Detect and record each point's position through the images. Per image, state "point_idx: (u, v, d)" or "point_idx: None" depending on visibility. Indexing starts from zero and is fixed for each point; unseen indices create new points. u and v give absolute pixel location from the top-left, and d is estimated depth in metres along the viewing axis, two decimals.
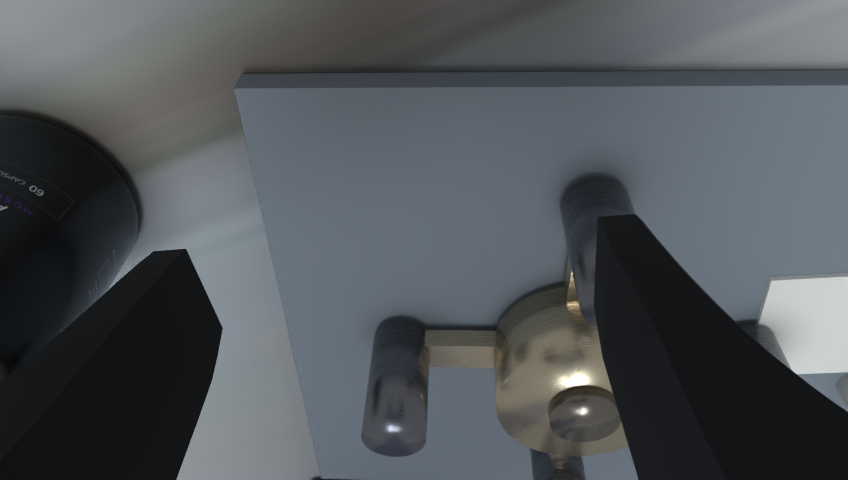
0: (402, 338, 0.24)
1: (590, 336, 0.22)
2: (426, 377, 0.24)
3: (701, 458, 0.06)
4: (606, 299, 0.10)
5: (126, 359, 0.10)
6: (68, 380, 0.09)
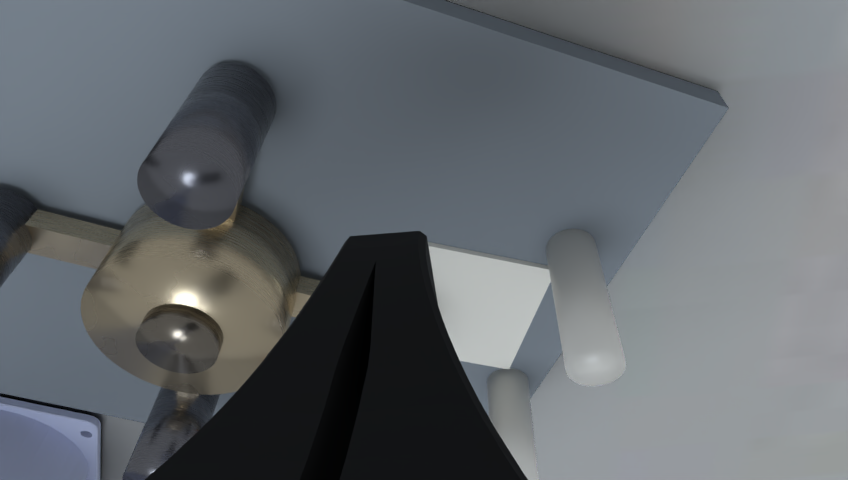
0: None
1: (196, 247, 0.19)
2: (7, 258, 0.20)
3: None
4: None
5: (361, 345, 0.09)
6: (332, 365, 0.08)
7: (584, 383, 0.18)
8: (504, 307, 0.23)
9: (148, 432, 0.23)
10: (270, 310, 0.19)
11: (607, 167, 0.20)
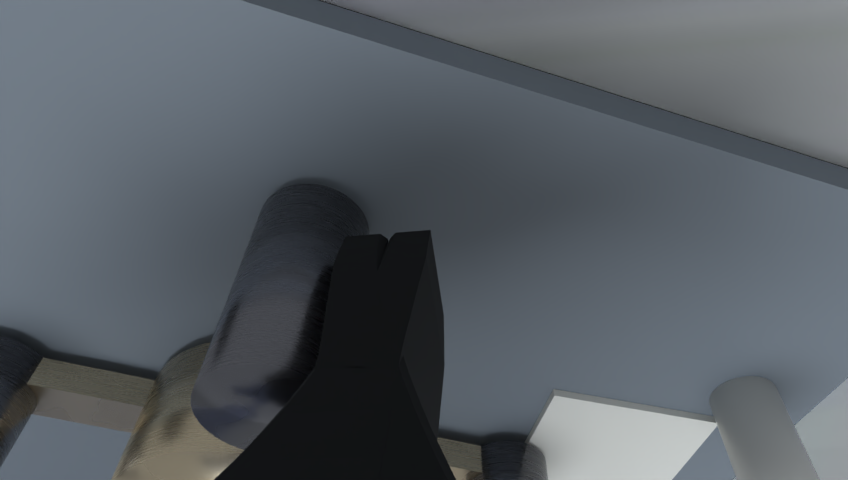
0: None
1: None
2: (4, 438, 0.15)
3: None
4: None
5: (417, 342, 0.09)
6: (395, 362, 0.08)
7: None
8: (643, 461, 0.18)
9: None
10: None
11: (814, 307, 0.14)
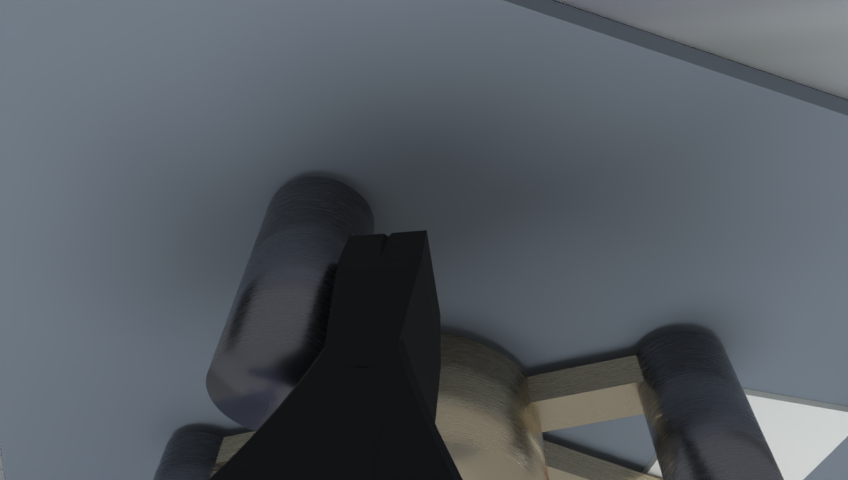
0: (179, 460, 0.17)
1: None
2: None
3: None
4: None
5: (412, 342, 0.09)
6: (389, 362, 0.08)
7: None
8: (784, 454, 0.18)
9: None
10: (500, 458, 0.13)
11: None
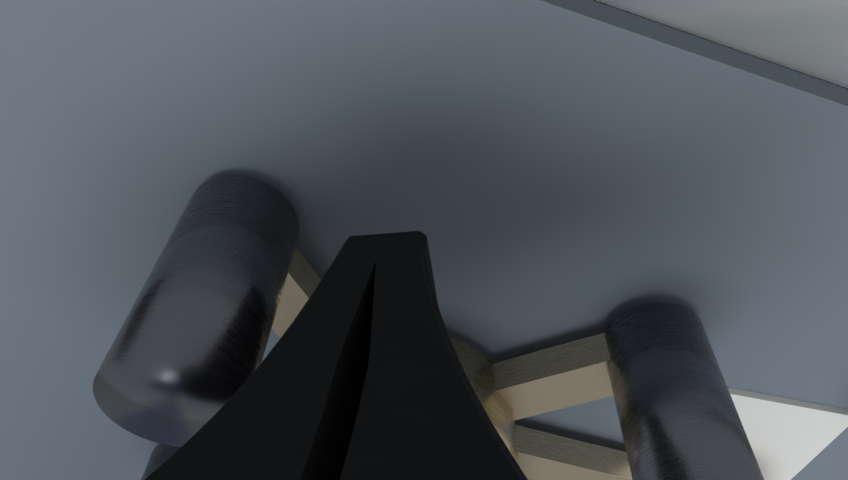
0: None
1: None
2: None
3: None
4: None
5: (361, 345, 0.09)
6: (332, 365, 0.08)
7: None
8: (770, 455, 0.18)
9: None
10: None
11: None
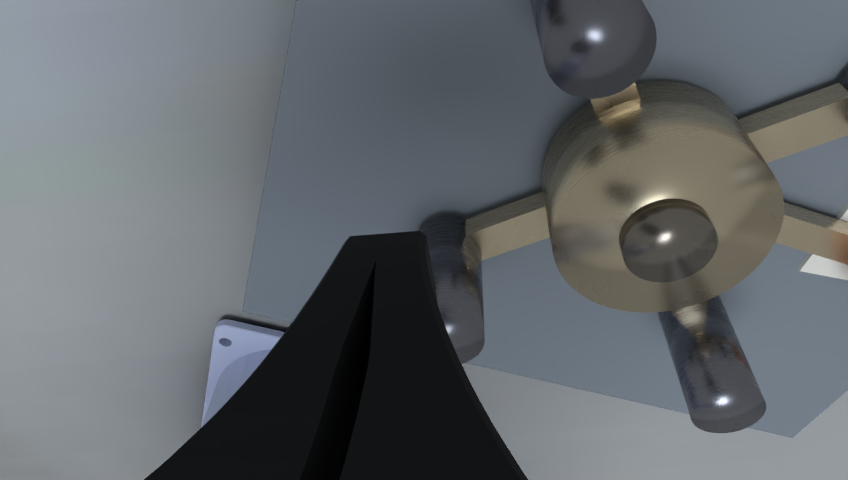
0: (436, 234, 0.21)
1: (627, 136, 0.17)
2: (473, 266, 0.20)
3: None
4: None
5: (361, 345, 0.09)
6: (332, 365, 0.08)
7: None
8: None
9: (685, 367, 0.21)
10: (743, 149, 0.16)
11: None
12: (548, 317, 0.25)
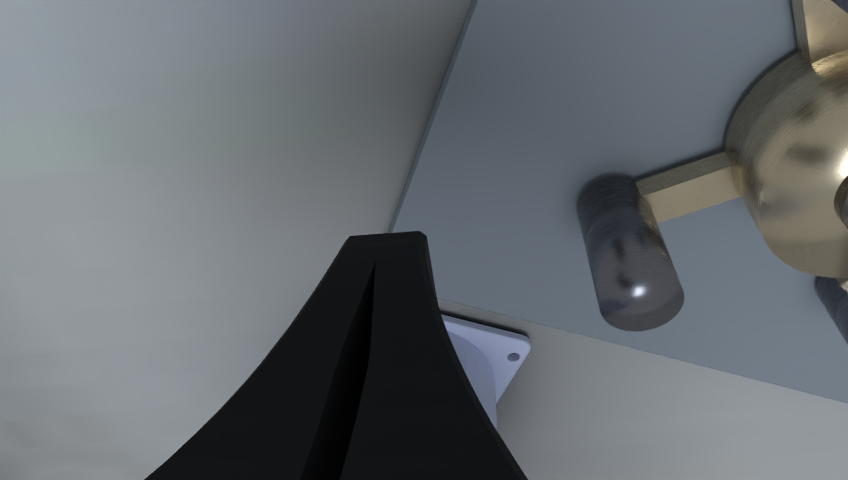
0: (611, 195, 0.20)
1: None
2: (657, 227, 0.19)
3: None
4: None
5: (361, 345, 0.09)
6: (332, 365, 0.08)
7: None
8: None
9: None
10: None
11: None
12: (697, 290, 0.24)
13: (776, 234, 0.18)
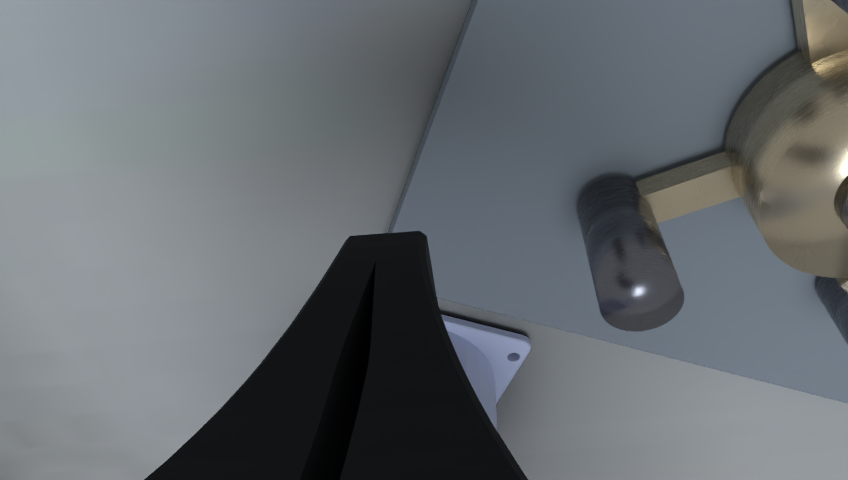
0: (611, 195, 0.20)
1: None
2: (657, 227, 0.19)
3: None
4: None
5: (361, 345, 0.09)
6: (332, 365, 0.08)
7: None
8: None
9: None
10: None
11: None
12: (697, 290, 0.24)
13: (776, 234, 0.18)
